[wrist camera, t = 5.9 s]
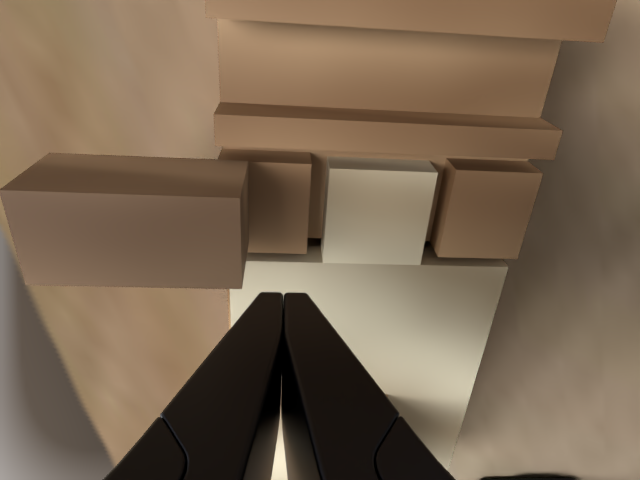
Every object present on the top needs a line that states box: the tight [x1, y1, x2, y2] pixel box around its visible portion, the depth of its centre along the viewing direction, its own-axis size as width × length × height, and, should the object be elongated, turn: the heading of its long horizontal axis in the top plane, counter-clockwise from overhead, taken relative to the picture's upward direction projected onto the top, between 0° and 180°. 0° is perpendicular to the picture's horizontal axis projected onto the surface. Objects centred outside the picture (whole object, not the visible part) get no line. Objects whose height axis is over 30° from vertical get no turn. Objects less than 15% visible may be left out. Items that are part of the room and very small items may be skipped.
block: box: [0, 153, 249, 289], centre depth 12 cm, size 2×5×2 cm, turn 86°
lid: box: [230, 156, 509, 480], centre depth 16 cm, size 17×9×6 cm, turn 176°
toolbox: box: [205, 0, 617, 330], centre depth 18 cm, size 22×9×7 cm, turn 176°
